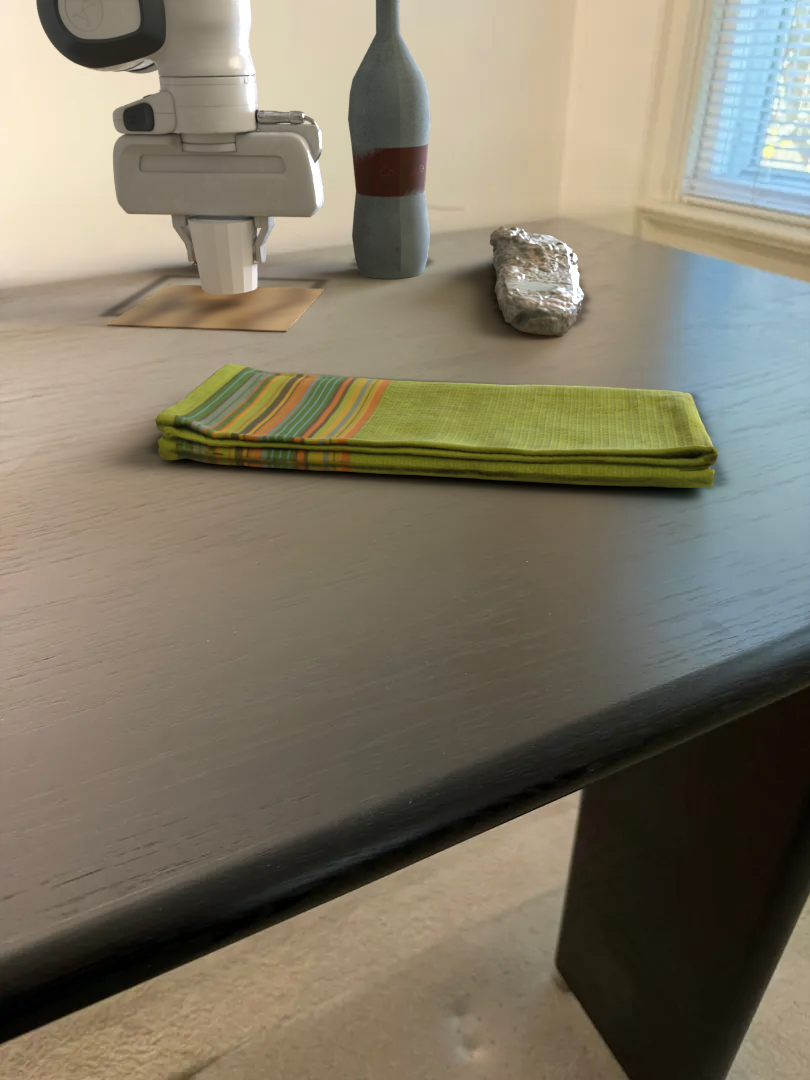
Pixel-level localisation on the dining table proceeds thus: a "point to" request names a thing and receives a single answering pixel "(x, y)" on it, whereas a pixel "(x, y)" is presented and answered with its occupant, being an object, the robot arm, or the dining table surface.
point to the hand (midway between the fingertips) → (227, 261)
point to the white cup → (224, 252)
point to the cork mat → (220, 309)
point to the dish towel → (441, 429)
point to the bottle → (389, 154)
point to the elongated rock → (536, 281)
